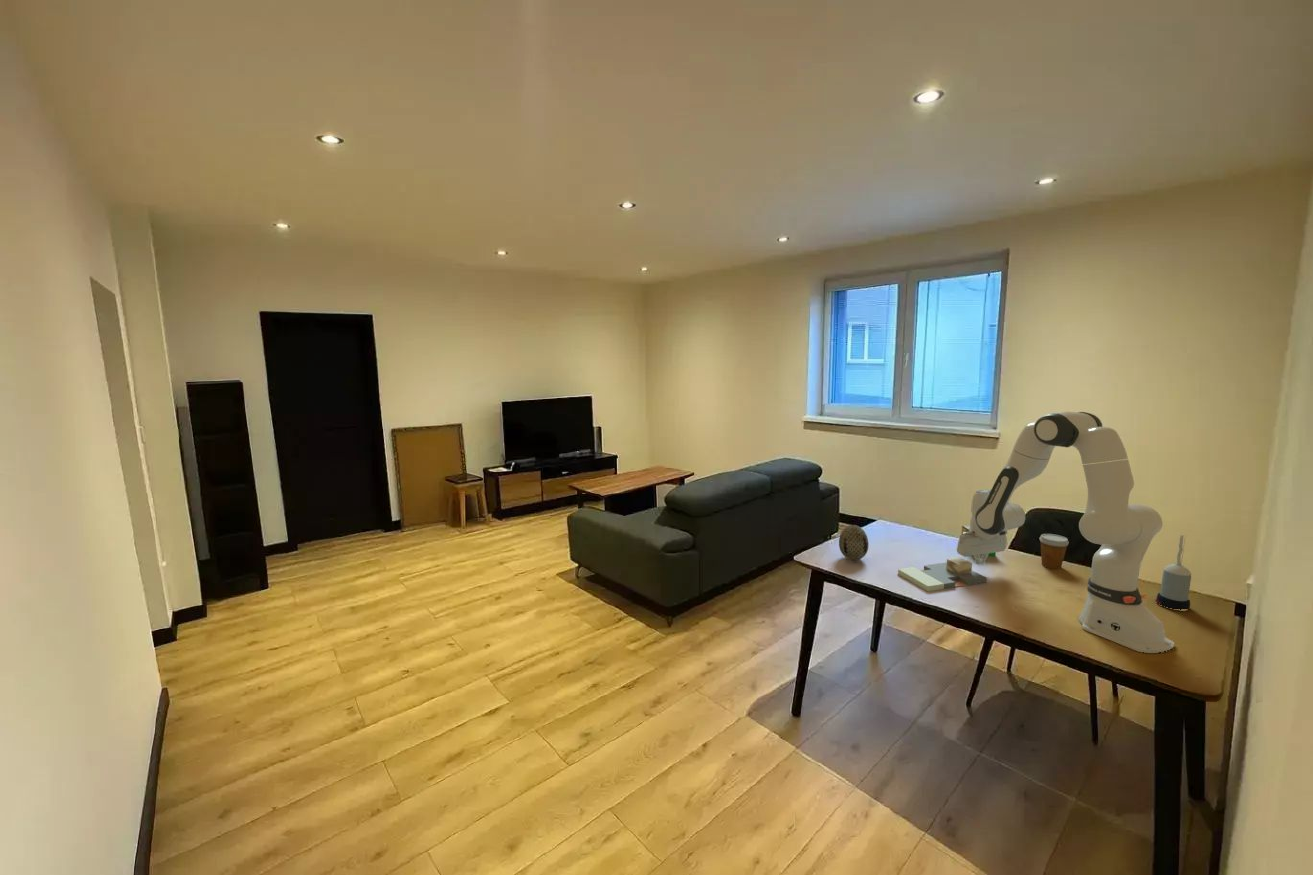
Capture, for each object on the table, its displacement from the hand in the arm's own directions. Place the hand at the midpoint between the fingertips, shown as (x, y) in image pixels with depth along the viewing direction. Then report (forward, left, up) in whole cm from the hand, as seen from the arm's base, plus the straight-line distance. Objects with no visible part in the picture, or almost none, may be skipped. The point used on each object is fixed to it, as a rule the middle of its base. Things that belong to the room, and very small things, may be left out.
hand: (980, 563), depth 207 cm
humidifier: (-40, -39, -4) cm, 56 cm away
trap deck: (0, +18, -4) cm, 18 cm away
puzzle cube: (+18, -17, -4) cm, 25 cm away
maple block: (0, +10, -2) cm, 10 cm away
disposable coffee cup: (-3, -32, -4) cm, 32 cm away
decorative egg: (+26, +39, -4) cm, 47 cm away
